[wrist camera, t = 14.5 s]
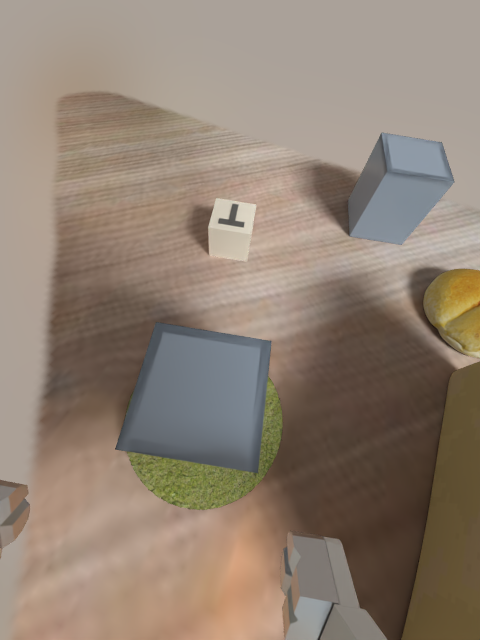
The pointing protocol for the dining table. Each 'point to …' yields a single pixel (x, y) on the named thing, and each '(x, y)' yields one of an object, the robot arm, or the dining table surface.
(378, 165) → the gray notched block
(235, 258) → the letter cube
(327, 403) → the dining table surface
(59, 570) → the dining table surface
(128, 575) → the dining table surface
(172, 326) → the grey stool
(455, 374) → the cheese
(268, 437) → the mat
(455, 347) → the bread roll
